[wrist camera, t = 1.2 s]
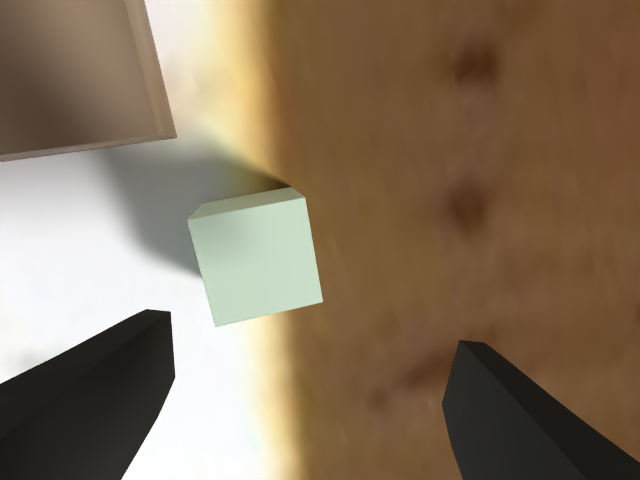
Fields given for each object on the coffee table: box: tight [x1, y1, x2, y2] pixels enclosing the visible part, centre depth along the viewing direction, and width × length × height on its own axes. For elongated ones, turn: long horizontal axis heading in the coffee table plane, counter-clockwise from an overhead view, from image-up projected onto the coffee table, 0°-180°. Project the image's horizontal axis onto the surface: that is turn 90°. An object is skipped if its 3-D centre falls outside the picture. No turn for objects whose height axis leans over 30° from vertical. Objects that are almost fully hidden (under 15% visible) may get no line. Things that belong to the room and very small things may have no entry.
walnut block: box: [0, 0, 177, 162], centre depth 13 cm, size 9×9×4 cm
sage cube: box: [187, 187, 323, 327], centre depth 16 cm, size 4×4×4 cm
